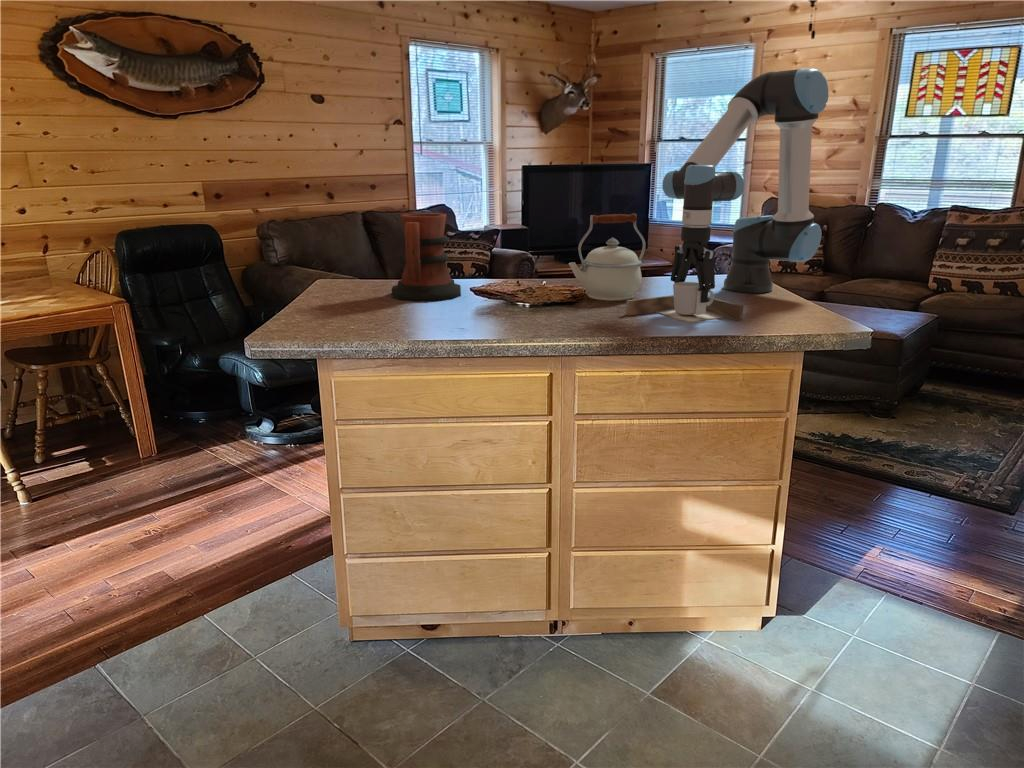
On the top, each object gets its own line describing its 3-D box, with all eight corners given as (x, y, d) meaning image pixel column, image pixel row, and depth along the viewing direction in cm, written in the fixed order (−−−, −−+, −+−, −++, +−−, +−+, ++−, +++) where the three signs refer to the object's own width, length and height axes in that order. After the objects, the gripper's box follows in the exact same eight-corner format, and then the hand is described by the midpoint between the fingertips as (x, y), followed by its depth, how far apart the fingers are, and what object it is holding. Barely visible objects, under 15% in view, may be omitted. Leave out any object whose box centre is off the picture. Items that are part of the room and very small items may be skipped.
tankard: (468, 289, 238) (467, 212, 230) (449, 305, 215) (446, 219, 207) (404, 288, 242) (400, 211, 234) (377, 302, 218) (372, 218, 211)
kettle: (628, 289, 238) (632, 210, 230) (656, 299, 221) (661, 215, 214) (557, 294, 230) (558, 213, 223) (580, 305, 214) (582, 218, 206)
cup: (711, 311, 201) (713, 282, 199) (713, 317, 194) (715, 287, 192) (671, 310, 203) (673, 281, 201) (671, 315, 196) (673, 286, 194)
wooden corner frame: (692, 306, 211) (693, 293, 210) (742, 320, 194) (743, 305, 193) (625, 314, 201) (626, 300, 200) (671, 329, 184) (672, 314, 183)
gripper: (660, 223, 200) (655, 305, 207) (711, 230, 182) (704, 320, 189) (682, 222, 203) (676, 303, 210) (735, 228, 185) (727, 317, 192)
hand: (689, 311), depth 199 cm, fingers closed on cup, 8 cm apart
